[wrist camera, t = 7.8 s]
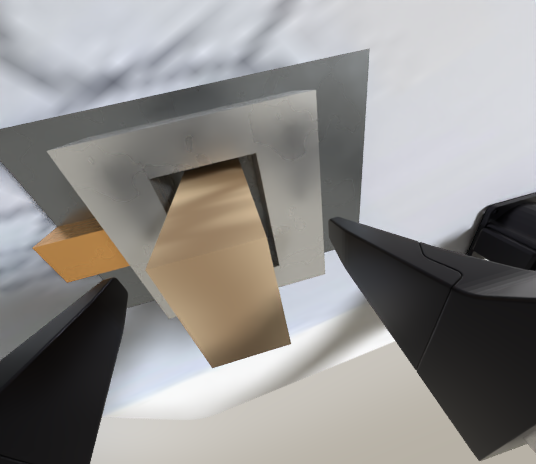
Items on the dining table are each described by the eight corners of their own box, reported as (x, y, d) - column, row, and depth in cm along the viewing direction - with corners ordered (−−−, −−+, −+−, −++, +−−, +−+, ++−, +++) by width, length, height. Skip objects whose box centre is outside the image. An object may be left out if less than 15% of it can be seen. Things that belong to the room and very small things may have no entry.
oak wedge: (238, 158, 12) (266, 237, 5) (257, 232, 15) (290, 343, 8) (184, 171, 12) (145, 270, 5) (213, 243, 15) (212, 368, 8)
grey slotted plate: (358, 51, 11) (416, 34, 8) (351, 236, 18) (381, 268, 15) (-4, 130, 10) (-109, 148, 7) (132, 297, 17) (111, 347, 14)
